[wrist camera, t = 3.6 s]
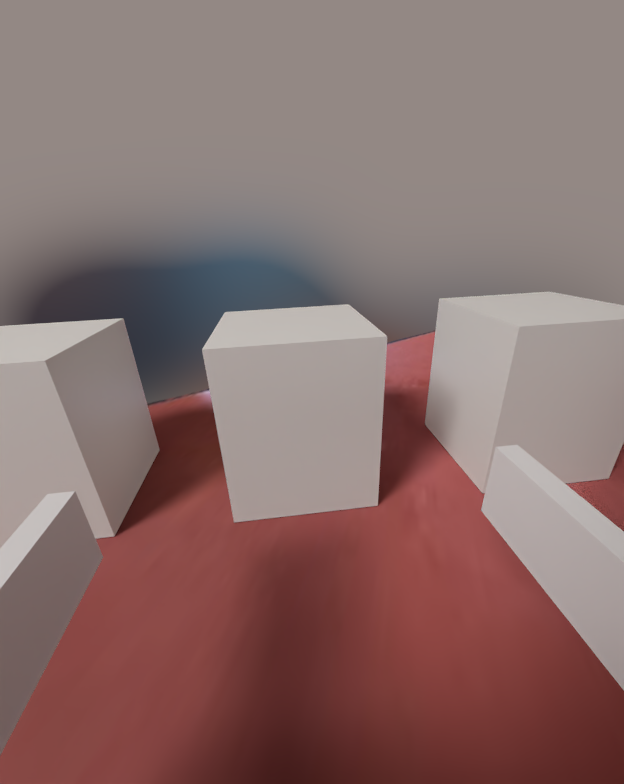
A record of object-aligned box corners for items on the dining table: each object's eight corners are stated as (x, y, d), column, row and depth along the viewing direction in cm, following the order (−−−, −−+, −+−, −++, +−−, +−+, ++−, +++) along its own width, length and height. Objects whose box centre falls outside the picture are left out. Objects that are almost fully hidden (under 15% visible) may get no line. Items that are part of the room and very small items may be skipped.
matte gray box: (159, 449, 28) (123, 318, 23) (114, 536, 20) (45, 360, 15) (45, 460, 27) (-16, 327, 23) (-51, 555, 19) (-177, 376, 14)
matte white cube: (518, 415, 31) (549, 291, 26) (608, 478, 23) (676, 315, 18) (424, 424, 30) (439, 298, 25) (482, 493, 22) (519, 326, 17)
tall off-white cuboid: (347, 431, 29) (348, 304, 25) (377, 505, 21) (387, 336, 17) (244, 441, 29) (225, 312, 24) (234, 522, 20) (202, 349, 16)
